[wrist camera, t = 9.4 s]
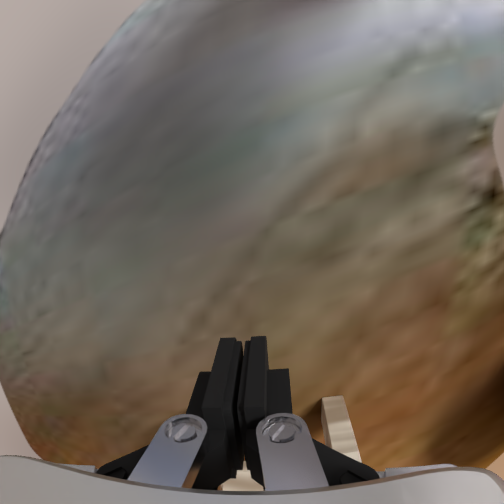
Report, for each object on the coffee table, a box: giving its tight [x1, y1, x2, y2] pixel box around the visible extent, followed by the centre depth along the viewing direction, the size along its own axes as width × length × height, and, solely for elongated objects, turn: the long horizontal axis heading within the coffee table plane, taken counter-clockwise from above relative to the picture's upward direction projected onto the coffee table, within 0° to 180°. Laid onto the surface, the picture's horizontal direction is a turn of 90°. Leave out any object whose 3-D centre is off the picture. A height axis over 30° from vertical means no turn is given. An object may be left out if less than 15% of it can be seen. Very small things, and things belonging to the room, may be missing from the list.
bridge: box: [223, 395, 362, 491], centre depth 24 cm, size 3×14×9 cm, turn 95°
